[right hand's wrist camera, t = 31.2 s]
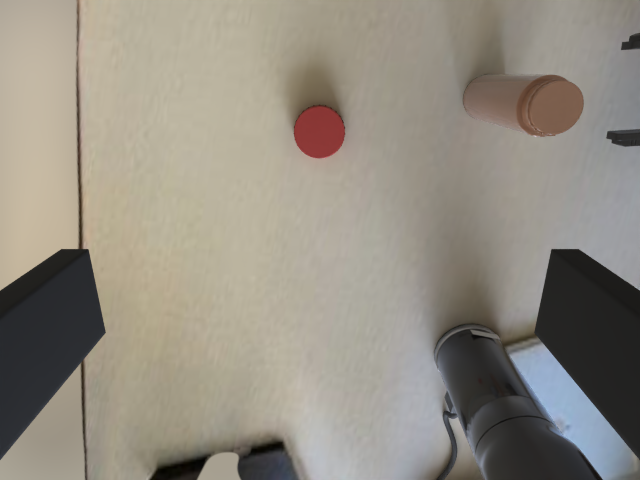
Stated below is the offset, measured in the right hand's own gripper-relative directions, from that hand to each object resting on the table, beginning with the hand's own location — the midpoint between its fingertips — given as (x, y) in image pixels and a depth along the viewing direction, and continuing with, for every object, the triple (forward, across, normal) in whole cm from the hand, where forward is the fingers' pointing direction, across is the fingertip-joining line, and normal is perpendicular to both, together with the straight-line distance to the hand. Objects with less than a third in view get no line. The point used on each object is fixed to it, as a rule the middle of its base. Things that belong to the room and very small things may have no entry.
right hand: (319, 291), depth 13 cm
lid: (+39, 0, 0) cm, 39 cm away
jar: (+41, +19, +3) cm, 45 cm away
